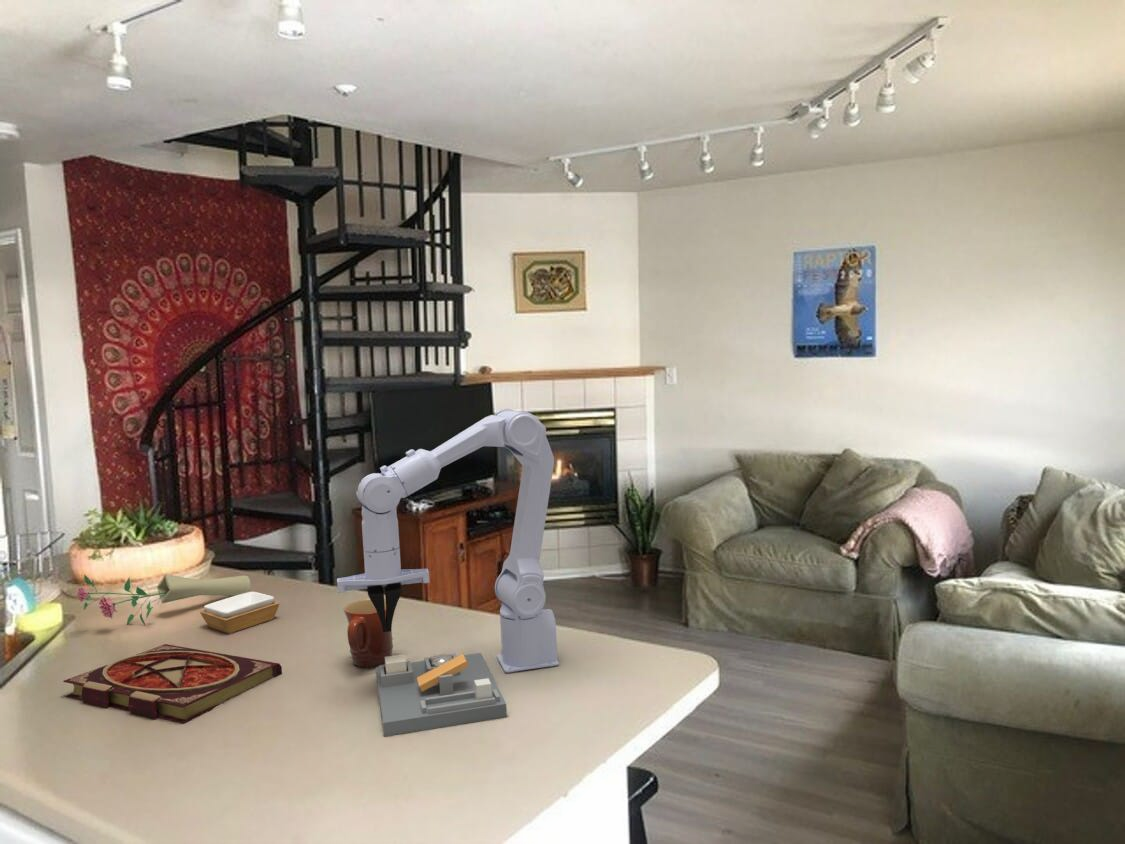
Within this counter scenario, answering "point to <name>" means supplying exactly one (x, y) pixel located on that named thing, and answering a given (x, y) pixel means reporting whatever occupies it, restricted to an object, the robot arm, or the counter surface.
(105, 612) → the flower vase
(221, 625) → the soap dish
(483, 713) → the console
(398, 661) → the button square
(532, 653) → the robot arm
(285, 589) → the counter surface
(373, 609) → the mug
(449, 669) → the rocker
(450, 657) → the button round
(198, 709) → the book
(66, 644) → the counter surface
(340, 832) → the counter surface
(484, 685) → the slider knob
